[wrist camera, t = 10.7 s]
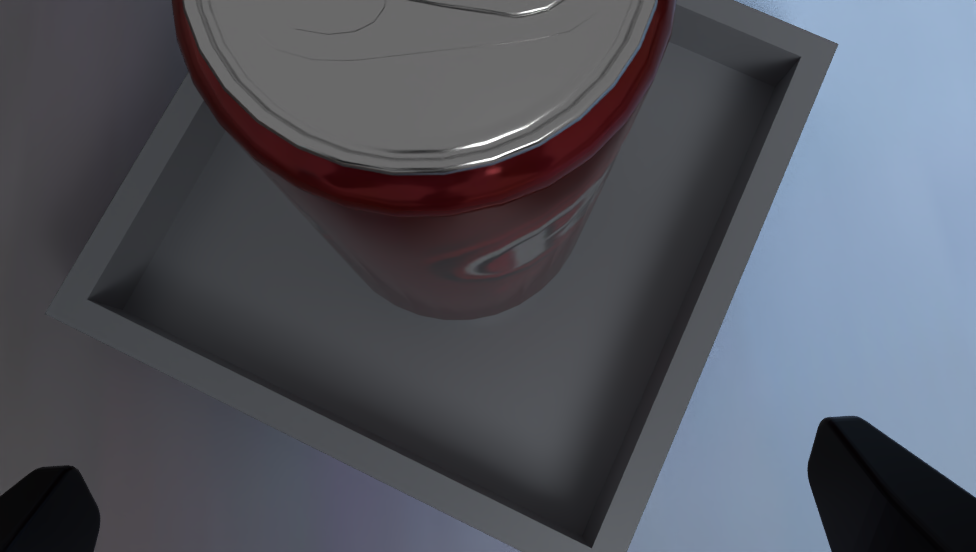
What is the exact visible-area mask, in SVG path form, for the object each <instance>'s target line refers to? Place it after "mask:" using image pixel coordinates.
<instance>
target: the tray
mask: <svg viewBox="0 0 976 552" xmlns="http://www.w3.org/2000/svg"><path fill="white" fill-rule="evenodd" d="M837 46H838V44H837V43H835V42H832V41H830V40H827V39H825V38H823V37H820V36H818V35H815V34H813V33H811V32H808V31H806V30H803V29H801V28H799V27H796V26H794V25H791V24H789V23H787V22H784V21H782V20H780V19H777V18H775V17H772V16H770V15H768V14H765V13H763V12H760V11H758V10H756V9H753V8H751V7H748V6H746V5H744V4H741V3H739V2H736V1H734V0H677V2H676V9H675V15H674V22H673V28H672V35H671V38H670V40H669V43H668V45H667V48H666V51H665V53H664V56H663V58H662V61H661V64H660V66H659V69H658V71H657V74H656V76H655V79H654V81H653V83H652V85H651V87H650V89H649V92H648V94H647V96H646V98H645V100H644V102H643V104H642V106H641V108H640V110H639V113H638V115H637V117H636V119H635V121H634V123H633V125H632V127H631V129H630V131H629V134H628V136H627V138H626V140H625V142H624V144H623V146H622V148H621V150H620V152H619V155H618V157H617V159H616V161H615V163H614V165H613V167H612V169H611V171H610V173H609V175H608V178H607V180H606V182H605V184H604V186H603V188H602V190H601V192H600V194H599V196H598V199H597V201H596V203H595V205H594V207H593V209H592V211H591V213H590V215H589V217H588V220H587V222H586V224H585V226H584V228H583V230H582V232H581V234H580V236H579V238H578V240H577V243H576V245H575V247H574V249H573V251H572V253H571V254H570V256H569V257H568V259H567V260H566V262H565V263H564V265H563V266H562V268H561V270H560V271H559V273H558V274H557V275H556V276H555V277H554V278H553V279H552V280H551V281H550V282H549V283H548V284H547V285H546V286H545V287H544V288H543V289H542V290H541V291H539V292H538V293H536V294H535V295H533V296H532V297H530V298H529V299H527V300H526V301H524V302H523V303H522V304H520V305H518V306H515V307H513V308H511V309H508V310H506V311H504V312H501V313H499V314H496V315H492V316H487V317H482V318H478V319H473V320H441V319H436V318H431V317H425V316H420V315H417V314H415V313H412V312H410V311H407V310H405V309H402V308H400V307H397V306H395V305H394V304H392V303H391V302H389V301H388V300H386V299H385V298H383V297H382V296H380V295H378V294H377V293H375V292H374V291H373V290H372V289H371V288H370V287H369V286H368V285H367V284H366V283H365V282H364V281H363V280H362V279H361V278H360V277H359V276H358V275H357V274H356V273H355V272H354V271H353V270H352V268H351V267H350V266H349V265H348V264H347V263H346V262H345V261H344V260H343V259H342V257H341V256H340V255H339V254H338V253H337V252H336V251H335V250H334V249H333V248H332V247H331V245H330V244H329V243H328V242H327V241H326V240H325V239H324V238H323V237H322V236H321V235H320V233H319V232H318V231H317V230H316V229H315V228H314V227H313V226H312V225H311V224H310V223H309V221H308V220H307V219H306V218H305V217H304V216H303V215H302V214H301V213H300V212H299V211H298V209H297V208H296V207H295V206H294V205H293V204H292V203H291V202H290V201H289V200H288V198H287V197H286V196H285V195H284V194H283V193H282V192H281V191H280V190H279V189H278V188H277V186H276V185H275V184H274V183H273V182H272V181H271V180H270V179H269V178H268V177H267V176H266V174H265V173H264V172H263V171H262V170H261V169H260V168H259V167H258V166H257V165H256V164H255V162H254V161H253V160H252V159H251V158H250V157H249V156H248V155H247V154H246V153H245V152H244V150H243V149H242V148H241V147H240V146H239V145H238V144H237V143H236V142H235V141H234V139H233V138H232V137H231V136H230V135H229V134H228V133H227V132H226V131H225V130H224V129H223V127H222V126H221V125H220V124H219V123H218V121H217V120H216V118H215V117H214V115H213V114H212V112H211V111H210V109H209V107H208V106H207V104H206V103H205V101H204V100H203V98H202V97H201V95H200V94H199V92H198V90H197V89H196V87H195V86H194V84H193V82H192V79H191V77H190V74H189V72H188V73H187V75H186V77H185V78H184V80H183V82H182V84H181V85H180V87H179V89H178V90H177V92H176V94H175V95H174V97H173V99H172V100H171V102H170V104H169V105H168V107H167V109H166V110H165V112H164V114H163V115H162V117H161V119H160V121H159V122H158V124H157V126H156V127H155V129H154V131H153V132H152V134H151V136H150V137H149V139H148V141H147V142H146V144H145V146H144V147H143V149H142V151H141V152H140V154H139V156H138V158H137V159H136V161H135V163H134V164H133V166H132V168H131V169H130V171H129V173H128V174H127V176H126V178H125V179H124V181H123V183H122V184H121V186H120V188H119V189H118V191H117V193H116V194H115V196H114V198H113V200H112V201H111V203H110V205H109V206H108V208H107V210H106V211H105V213H104V215H103V216H102V218H101V220H100V221H99V223H98V225H97V226H96V228H95V230H94V231H93V233H92V235H91V237H90V238H89V240H88V242H87V243H86V245H85V247H84V248H83V250H82V252H81V253H80V255H79V257H78V258H77V260H76V262H75V263H74V265H73V267H72V268H71V270H70V272H69V274H68V275H67V277H66V279H65V280H64V282H63V284H62V285H61V287H60V289H59V290H58V292H57V294H56V295H55V297H54V299H53V300H52V302H51V304H50V305H49V307H48V309H47V311H46V312H45V314H46V315H48V316H50V317H52V318H54V319H56V320H58V321H60V322H62V323H64V324H66V325H68V326H70V327H72V328H74V329H76V330H78V331H80V332H82V333H84V334H86V335H88V336H90V337H92V338H94V339H96V340H98V341H100V342H102V343H104V344H106V345H108V346H110V347H112V348H114V349H116V350H118V351H120V352H122V353H124V354H126V355H128V356H130V357H132V358H134V359H136V360H138V361H140V362H142V363H144V364H146V365H148V366H150V367H152V368H154V369H156V370H158V371H160V372H162V373H164V374H166V375H168V376H170V377H172V378H174V379H176V380H178V381H180V382H182V383H184V384H186V385H188V386H190V387H192V388H194V389H197V390H199V391H201V392H203V393H205V394H207V395H209V396H211V397H213V398H215V399H217V400H219V401H221V402H223V403H225V404H227V405H229V406H231V407H233V408H235V409H237V410H239V411H241V412H243V413H245V414H247V415H249V416H251V417H253V418H255V419H257V420H259V421H261V422H263V423H265V424H267V425H269V426H271V427H273V428H275V429H277V430H279V431H281V432H283V433H285V434H287V435H289V436H291V437H293V438H295V439H297V440H299V441H301V442H303V443H305V444H307V445H309V446H311V447H313V448H315V449H317V450H319V451H321V452H323V453H325V454H327V455H329V456H331V457H333V458H335V459H337V460H339V461H341V462H343V463H345V464H347V465H349V466H351V467H353V468H355V469H357V470H359V471H361V472H363V473H365V474H367V475H369V476H371V477H373V478H375V479H377V480H379V481H381V482H383V483H385V484H387V485H389V486H391V487H393V488H395V489H397V490H399V491H401V492H403V493H405V494H407V495H409V496H411V497H413V498H415V499H417V500H419V501H421V502H423V503H425V504H427V505H429V506H431V507H433V508H435V509H437V510H439V511H441V512H443V513H445V514H447V515H449V516H451V517H453V518H455V519H457V520H459V521H461V522H463V523H465V524H467V525H469V526H471V527H473V528H475V529H477V530H479V531H481V532H483V533H485V534H487V535H489V536H492V537H494V538H496V539H498V540H500V541H502V542H504V543H506V544H508V545H510V546H512V547H514V548H516V549H518V550H520V551H522V552H627V550H628V548H629V545H630V543H631V540H632V538H633V536H634V533H635V531H636V528H637V526H638V524H639V521H640V519H641V516H642V514H643V512H644V509H645V507H646V504H647V502H648V500H649V497H650V495H651V492H652V490H653V488H654V485H655V483H656V480H657V478H658V476H659V473H660V471H661V468H662V466H663V464H664V461H665V459H666V456H667V454H668V452H669V449H670V447H671V444H672V442H673V440H674V437H675V435H676V432H677V430H678V428H679V425H680V423H681V420H682V418H683V416H684V413H685V411H686V408H687V406H688V404H689V401H690V399H691V396H692V394H693V392H694V389H695V387H696V384H697V382H698V380H699V377H700V375H701V372H702V370H703V368H704V365H705V363H706V360H707V358H708V356H709V353H710V351H711V348H712V346H713V344H714V341H715V339H716V336H717V334H718V332H719V329H720V327H721V324H722V322H723V320H724V317H725V315H726V312H727V310H728V308H729V305H730V303H731V300H732V298H733V296H734V293H735V291H736V288H737V286H738V284H739V281H740V279H741V276H742V274H743V272H744V269H745V267H746V264H747V262H748V260H749V257H750V255H751V252H752V250H753V248H754V245H755V243H756V240H757V238H758V236H759V233H760V231H761V228H762V226H763V224H764V221H765V219H766V216H767V214H768V212H769V209H770V207H771V204H772V202H773V200H774V197H775V195H776V192H777V190H778V188H779V185H780V183H781V180H782V178H783V176H784V173H785V171H786V168H787V166H788V164H789V161H790V159H791V156H792V154H793V152H794V149H795V147H796V144H797V142H798V140H799V137H800V135H801V132H802V130H803V128H804V125H805V123H806V120H807V118H808V116H809V113H810V111H811V108H812V106H813V104H814V101H815V99H816V96H817V94H818V92H819V89H820V87H821V84H822V82H823V80H824V77H825V75H826V72H827V70H828V68H829V65H830V63H831V60H832V58H833V56H834V53H835V51H836V49H837Z"/></svg>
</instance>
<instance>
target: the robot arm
mask: <svg viewBox="0 0 976 552" xmlns="http://www.w3.org/2000/svg"><path fill="white" fill-rule="evenodd" d="M808 479H809V483H810V486H811V490H812V493H813V496H814V499H815V502H816V505H817V508H818V511H819V514H820V517H821V520H822V524H823V527H824V530H825V533H826V536H827V539H828V542H829V545H830V548H831V551H832V552H976V498H975V497H974V496H973V495H971V494H970V493H968V492H967V491H965V490H964V489H963V488H961V487H960V486H958V485H957V484H955V483H954V482H953V481H951V480H950V479H948V478H947V477H945V476H944V475H943V474H941V473H940V472H938V471H937V470H935V469H934V468H933V467H931V466H930V465H928V464H927V463H925V462H924V461H923V460H921V459H920V458H918V457H917V456H915V455H914V454H913V453H911V452H910V451H908V450H907V449H905V448H904V447H902V446H901V445H900V444H898V443H897V442H895V441H894V440H892V439H891V438H890V437H888V436H887V435H885V434H884V433H882V432H881V431H880V430H878V429H877V428H875V427H874V426H872V425H871V424H870V423H868V422H867V421H865V420H864V419H862V418H860V417H857V416H840V417H827V418H824V419H823V420H822V421H821V422H820V424H819V426H818V430H817V433H816V437H815V440H814V444H813V447H812V451H811V454H810V458H809V461H808ZM99 528H100V513H99V509H98V506H97V504H96V502H95V500H94V498H93V497H92V495H91V493H90V491H89V489H88V487H87V485H86V483H85V481H84V479H83V477H82V475H81V473H80V472H79V470H78V469H76V468H75V467H73V466H69V465H66V466H50V467H41V468H38V469H35V470H34V471H32V472H31V473H29V474H28V475H27V476H25V477H24V478H23V479H22V480H20V481H19V482H18V483H17V484H15V485H14V486H13V487H12V488H10V489H9V490H8V491H6V492H5V493H4V494H3V495H1V496H0V552H94V548H95V545H96V541H97V537H98V533H99Z"/></svg>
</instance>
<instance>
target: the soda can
mask: <svg viewBox="0 0 976 552" xmlns="http://www.w3.org/2000/svg"><path fill="white" fill-rule="evenodd" d="M676 2H677V0H172V8H173V15H174V22H175V29H176V37H177V42H178V44H179V47H180V50H181V53H182V55H183V58H184V61H185V63H186V66H187V69H188V71H189V74H190V77H191V79H192V82H193V84H194V86H195V87H196V89H197V90H198V92H199V94H200V95H201V97H202V98H203V100H204V101H205V103H206V104H207V106H208V107H209V109H210V111H211V112H212V114H213V115H214V117H215V118H216V120H217V121H218V123H219V124H220V125H221V126H222V127H223V129H224V130H225V131H226V132H227V133H228V134H229V135H230V136H231V137H232V138H233V139H234V141H235V142H236V143H237V144H238V145H239V146H240V147H241V148H242V149H243V150H244V152H245V153H246V154H247V155H248V156H249V157H250V158H251V159H252V160H253V161H254V162H255V164H256V165H257V166H258V167H259V168H260V169H261V170H262V171H263V172H264V173H265V174H266V176H267V177H268V178H269V179H270V180H271V181H272V182H273V183H274V184H275V185H276V186H277V188H278V189H279V190H280V191H281V192H282V193H283V194H284V195H285V196H286V197H287V198H288V200H289V201H290V202H291V203H292V204H293V205H294V206H295V207H296V208H297V209H298V211H299V212H300V213H301V214H302V215H303V216H304V217H305V218H306V219H307V220H308V221H309V223H310V224H311V225H312V226H313V227H314V228H315V229H316V230H317V231H318V232H319V233H320V235H321V236H322V237H323V238H324V239H325V240H326V241H327V242H328V243H329V244H330V245H331V247H332V248H333V249H334V250H335V251H336V252H337V253H338V254H339V255H340V256H341V257H342V259H343V260H344V261H345V262H346V263H347V264H348V265H349V266H350V267H351V268H352V270H353V271H354V272H355V273H356V274H357V275H358V276H359V277H360V278H361V279H362V280H363V281H364V282H365V283H366V284H367V285H368V286H369V287H370V288H371V289H372V290H373V291H374V292H375V293H377V294H378V295H380V296H382V297H383V298H385V299H386V300H388V301H389V302H391V303H392V304H394V305H395V306H397V307H400V308H402V309H405V310H407V311H410V312H412V313H415V314H417V315H420V316H425V317H431V318H436V319H441V320H473V319H478V318H482V317H487V316H492V315H496V314H499V313H501V312H504V311H506V310H508V309H511V308H513V307H515V306H518V305H520V304H522V303H523V302H524V301H526V300H527V299H529V298H530V297H532V296H533V295H535V294H536V293H538V292H539V291H541V290H542V289H543V288H544V287H545V286H546V285H547V284H548V283H549V282H550V281H551V280H552V279H553V278H554V277H555V276H556V275H557V274H558V273H559V271H560V270H561V268H562V266H563V265H564V263H565V262H566V260H567V259H568V257H569V256H570V254H571V253H572V251H573V249H574V247H575V245H576V243H577V240H578V238H579V236H580V234H581V232H582V230H583V228H584V226H585V224H586V222H587V220H588V217H589V215H590V213H591V211H592V209H593V207H594V205H595V203H596V201H597V199H598V196H599V194H600V192H601V190H602V188H603V186H604V184H605V182H606V180H607V178H608V175H609V173H610V171H611V169H612V167H613V165H614V163H615V161H616V159H617V157H618V155H619V152H620V150H621V148H622V146H623V144H624V142H625V140H626V138H627V136H628V134H629V131H630V129H631V127H632V125H633V123H634V121H635V119H636V117H637V115H638V113H639V110H640V108H641V106H642V104H643V102H644V100H645V98H646V96H647V94H648V92H649V89H650V87H651V85H652V83H653V81H654V79H655V76H656V74H657V71H658V69H659V66H660V64H661V61H662V58H663V56H664V53H665V51H666V48H667V45H668V43H669V40H670V38H671V35H672V28H673V22H674V15H675V9H676Z"/></svg>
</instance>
